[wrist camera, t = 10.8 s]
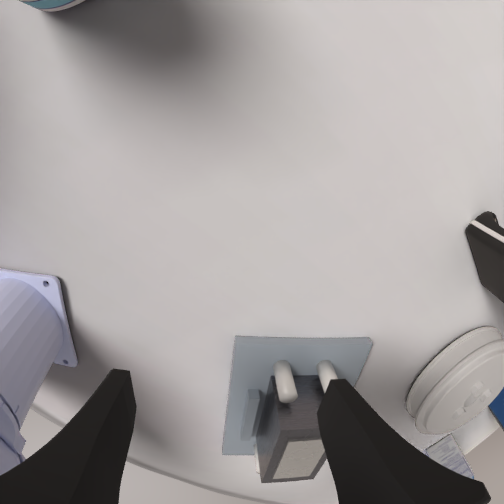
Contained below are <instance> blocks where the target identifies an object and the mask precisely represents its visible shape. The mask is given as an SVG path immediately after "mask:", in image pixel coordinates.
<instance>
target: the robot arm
mask: <svg viewBox="0 0 504 504" xmlns="http://www.w3.org/2000/svg"><path fill="white" fill-rule="evenodd" d="M46 281H47V282H48V283H49V284H47V283H46ZM66 360H67V361H66ZM52 363H55V364H60V365H64V366H69V367H76V366H77V364H78V360H77V356H76V352H75V349H74V345H73V341H72V337H71V333H70V329H69V324H68V320H67V315H66V311H65V306H64V301H63V296H62V290H61V285H60V281H59V279H58V278H57V277H55V276H51V275H44V274H36V273H29V272H22V271H15V270H8V269H2V268H0V504H118V502H119V491H120V484H121V478H122V474H123V470H124V465H125V462H126V458H127V453H128V449H129V445H130V441H131V437H132V433H133V428H134V421H135V414H136V402H135V397H134V392H133V387H132V381H131V376H130V371H127V370H120V369H112V370H111V371H110V372H109V374H108V375H107V377H106V378H105V379H104V381H103V382H102V383H101V385H100V386H99V387H98V389H97V390H96V391H95V392H94V394H93V395H92V396H91V397H90V399H89V400H88V401H87V402H86V403H85V405H84V406H83V407H82V408H81V409H80V411H79V412H78V413H77V414H76V415H75V416H74V417H73V418H72V419H71V420H70V422H69V423H68V424H67V425H66V426H65V427H64V428H63V429H62V430H61V431H60V432H59V433H58V434H57V435H56V436H55V437H54V438H52V440H50V441H49V442H48V443H47V444H46V445H44V446H43V447H42V448H41V449H39V450H38V451H37V452H36V453H35V454H33V455H32V456H30V457H29V458H28V459H25V457H24V456H23V455H22V453H21V452H22V449H23V447H24V445H25V442H26V440H25V439H24V438H23V437H22V435H21V434H20V432H19V431H20V428H21V426H22V424H23V422H24V420H25V417H26V415H27V413H28V411H29V409H30V407H31V405H32V403H33V401H34V399H35V396H36V394H37V392H38V390H39V388H40V386H41V384H42V383H43V381H44V379H45V377H46V375H47V373H48V371H49V369H50V367H51V365H52ZM317 418H318V425H319V431H320V436H321V440H322V443H323V446H324V449H325V453H326V456H327V459H328V462H329V465H330V469H331V472H332V475H333V478H334V481H335V485H336V489H337V495H338V500H339V504H487V503H489V502H490V500H491V497H490V495H489V493H488V491H487V489H486V488H485V485H484V484H483V483H482V482H480V481H477V480H474V479H471V478H469V477H466V476H463V475H461V474H459V473H457V472H455V471H452V470H450V469H448V468H446V467H445V466H443V465H441V464H439V463H437V462H436V461H434V460H433V459H431V458H429V457H428V456H426V455H425V454H423V453H422V452H420V451H419V450H418V449H416V448H415V447H414V446H412V445H411V444H410V443H408V442H407V441H406V440H405V439H403V438H402V437H401V436H400V435H399V434H398V433H397V432H396V431H394V430H393V429H392V428H391V427H390V426H389V425H388V424H387V423H386V422H385V421H384V420H383V419H382V418H381V417H380V416H379V415H378V414H377V413H376V412H375V411H374V410H373V409H372V408H371V406H370V405H369V404H368V403H367V402H366V401H365V400H364V399H363V398H362V397H361V395H360V394H359V393H358V392H357V391H356V390H355V389H354V388H353V386H352V385H351V384H350V383H349V382H348V381H347V380H346V379H331V380H330V382H329V385H328V387H327V390H326V392H325V394H324V397H323V399H322V402H321V404H320V406H319V409H318V411H317Z"/></svg>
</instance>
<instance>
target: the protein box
mask: <svg viewBox="0 0 504 504" xmlns="http://www.w3.org/2000/svg"><path fill="white" fill-rule="evenodd" d="M488 407H489V408H490V410H491V412H492V414H493V415H494V417H495V419H496V420H497V422H498V423H499V425H500V426H501V428H502V429H503V431H504V387H503V389H502V390H501V391H500V393H499V394H498V395H497V397H496V398H495V399H494V400H493V401H492V402H491V403H490V404H489V405H488Z"/></svg>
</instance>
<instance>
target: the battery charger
mask: <svg viewBox="0 0 504 504" xmlns="http://www.w3.org/2000/svg"><path fill="white" fill-rule="evenodd" d="M466 233H467V237H468V240H469V243H470V246H471V249H472V253H473V256H474V259H475V263H476V266H477V269H478V273H479V276H480V280H481V283H482V285H483V286H484V287H486V288H487V289H488V290H489V291H490V292H492V293H493V294H494V295H495V296H496V297H498V298H499V299H500V300H501V301H502V302H503V303H504V229H503V228H502V227H500V226H499V224H498V220H497V218H496V215H495V214H494V213H492V212H489V211H487V212H484V213H482V214H481V215H479V216H478V217H477V218H476V219H475V220H472V221H471V222H470V223H469V226H468V227H467V228H466Z"/></svg>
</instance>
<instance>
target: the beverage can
mask: <svg viewBox="0 0 504 504" xmlns="http://www.w3.org/2000/svg"><path fill="white" fill-rule="evenodd" d="M19 1H21V2H23V3H26V4H28V5H30V6H32V7H34V8H36V9H39V10H42V11H49V12H50V11H60V10H64V9H67V8H70V7H73V6H75V5H77V4H79V3H81V2H83V1H85V0H19Z"/></svg>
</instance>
